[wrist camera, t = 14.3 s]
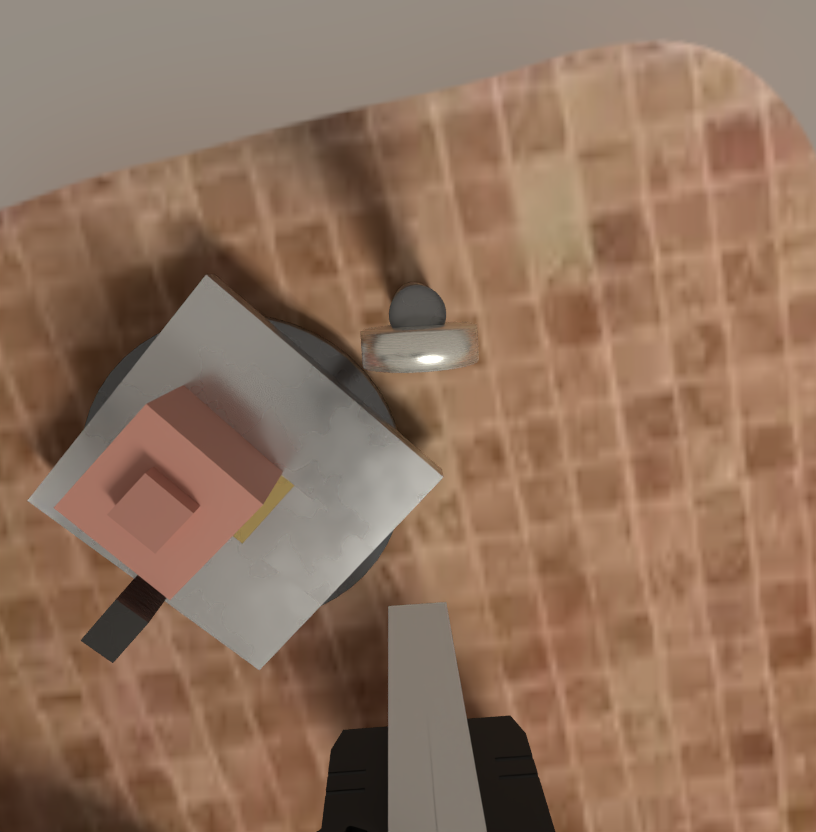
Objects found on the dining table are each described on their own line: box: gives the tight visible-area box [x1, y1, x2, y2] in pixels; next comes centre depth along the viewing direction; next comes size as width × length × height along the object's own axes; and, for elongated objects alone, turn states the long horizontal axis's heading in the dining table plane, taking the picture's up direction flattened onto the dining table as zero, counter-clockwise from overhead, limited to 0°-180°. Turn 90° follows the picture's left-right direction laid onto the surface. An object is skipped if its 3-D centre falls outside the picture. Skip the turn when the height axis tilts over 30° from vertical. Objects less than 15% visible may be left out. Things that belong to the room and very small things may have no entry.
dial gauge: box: [360, 282, 479, 373], centre depth 23 cm, size 4×3×11 cm, turn 93°
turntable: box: [28, 274, 443, 670], centre depth 26 cm, size 14×14×6 cm
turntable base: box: [84, 317, 397, 606], centre depth 30 cm, size 16×16×1 cm
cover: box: [54, 385, 283, 600], centre depth 25 cm, size 6×6×5 cm
